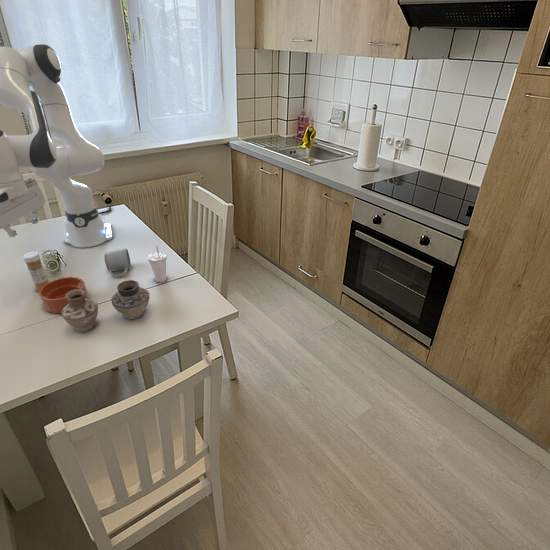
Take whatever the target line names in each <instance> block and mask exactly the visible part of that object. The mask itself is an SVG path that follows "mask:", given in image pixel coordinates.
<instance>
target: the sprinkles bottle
mask: <svg viewBox="0 0 550 550" xmlns="http://www.w3.org/2000/svg"><path fill="white" fill-rule="evenodd" d="M22 258H23V261H24V263H25V264H26V267H27V270H28V272H29V275H30V277H31V280H32V282H33V284H34V287H35V291H38V292H40V289H41V288H42V287H43V286H44V285H46V284H47V283H49V282H50V281H49V279H48V278H49V277H48V275H47V272H46V270H45V267H44V265H43V264H42V263H43V262H42V260H41V256H40V254H39V252H38V251H29V252H26V253H25V254H23V255H22Z"/></svg>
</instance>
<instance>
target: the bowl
mask: <svg viewBox="0 0 550 550" xmlns="http://www.w3.org/2000/svg"><path fill="white" fill-rule="evenodd" d="M75 289H81V290H83V291H84V296H85V299H89V294H88V290H87V287H86V283H85V281H84V280H83V279H82V278H79V277H76V276H66V277H65V276H64V277H59V278H56V279H54V280H51V281H49V283H47V284H46V285H44V286H43V287H42V288H41V289H40V291H38V292H39V293H38V295H39V298H40V300H41V303H42V306H43V308H44V309H45V311H46V312H49V313H54V314H60V313H61V314H62V310H63V308H64V307H65V306H66V305H67V304H69V301H68V300H67V299H66V297H65V295H66V293H68V292H69V291H71V290H75Z"/></svg>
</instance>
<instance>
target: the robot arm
mask: <svg viewBox="0 0 550 550" xmlns="http://www.w3.org/2000/svg"><path fill="white" fill-rule="evenodd" d="M62 73H63V66H62V62H61V58H60V56H59V55H58V54H57V52H56V51H55V50H54V49H53V48H52V47H51V46H50V45H49V44H42V43H41V44H34V45H31V46H27V47H22V48H17V50H16V49H14V48H12V47H9V46H0V105H1V106H3V107H5V108H7V109H10V110H12V111H16V112H21V113H24V114H26V115H28V116H29V117H30V122H31V125H32V130H33V131H32V133H30V134H17V135H11V134H10V135H7V134H6V133H5V132H4V130H1V129H0V230H4V231H6V233H7V236H8V237H10V238H14V237H16V236H17V235H18V233H17V230H15V229H12V228H11V224H13V223H14V222H16V221H18V220H20V219H22V218H23V217H26V216H27V215H29V214H31V217H30V218H29V221H30V223H31V224H33V225H36V224H38V223H39V222H40V220H39V213H40V211H39V209H40V208H42V207H43V206H46V197H45V196H44V193H43V191H42V189H41V188H40V186H39V184H38V181H37V180H36V179H34V178H28V179H26V180H25V178H24V176H23V173H22V172H21V171H20V169H28V168H29V169H30V171H31V172H32V174H33V175H34V176H35V177H36V178H39V179H41V180H44V181H45V182H47V183H49V184H50V185H51V186H53V187H54V188H55V190H56V191H57V192H58V194H59V196H60V199H61V201H62V202H63V206H64V214H65V215H64V216H65V217H66V220H67V221H66V222H65V223H64V227H65V231H66V236H67V237H66V238H65V239H64V242H65V244H69V245H71V246H73V247H76V248H81V249H83V248H91V247H95V246H99V245H101V244H103V243H105V242H107V241H110V240H112V239H113V238H114V236H113V230H112V225H111V223H109V222H105V217H104V215H102V214H106V213H109V212H111V211H112V206H111V204H110V203H108V204H107V207H108V208H109V209H107V210H103V211H100V212H99V209H98V207H97V205H98V204H97V202H95V200H94V196H93V192H92V190H91V188H90V187H89V186H88V185H86V184H85V183H82V182H77V181H75V180H73V179H72V178H71V177H75V176H83V175H90V174H93V173H96V172H100V171H102V170H103V168H104V166H105V156H104V153H103V152H102V150H101V149H100V148H99V147H98V146H97V145H95V144H93V143H91V142H90V141H88V140H87V139H86V138H84V137H83V135H82V134H81V133H80V131H79V130H78V129H77V126H76V123H75V122H74V121H75V120H74V118H73V115H72V111H71V108H70V104H69V102H68V101H69V100H68V98H67V96H66V93H65V91H64V88H63V86H62V85H61V83H60V82H61V76H62ZM30 87H31V88H32V89H33V90H31V88H30ZM53 139H55V140H59V141H61V142H63V143H64V144H65V145H64V146H55V144H54V142H53Z"/></svg>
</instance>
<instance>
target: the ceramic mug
mask: <svg viewBox="0 0 550 550" xmlns="http://www.w3.org/2000/svg"><path fill="white" fill-rule="evenodd" d="M103 257H104V258H103V259H104V265H105V267H106V270H107V271H109V273H110V275H111V276H112V277H113V278H115V279H119V278H123V277H125V276H126V274H127V273H128V270H131V269H132V263H131V256H130V253H129V250H128V248H120V249H116V250H112V251H111V250H110V251H107V252H105V253H104V255H103ZM116 271H123V272H122V273H120V274H115V273H113V272H116Z"/></svg>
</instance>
